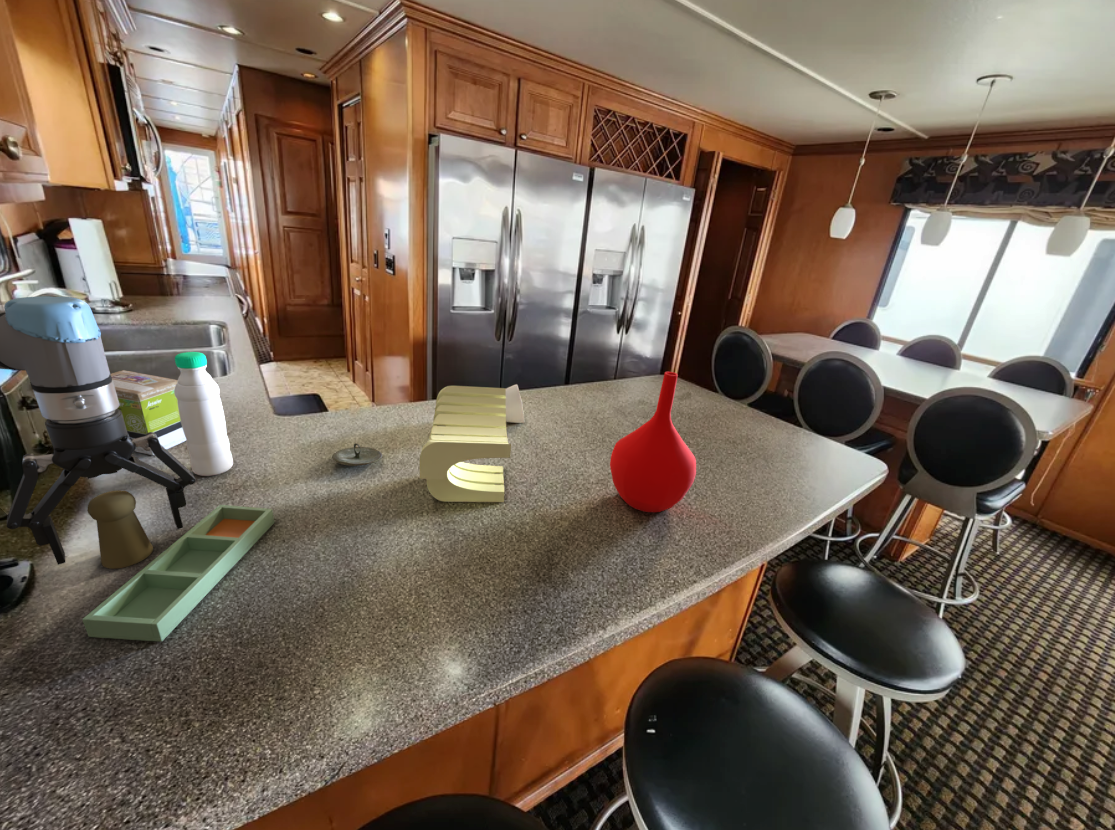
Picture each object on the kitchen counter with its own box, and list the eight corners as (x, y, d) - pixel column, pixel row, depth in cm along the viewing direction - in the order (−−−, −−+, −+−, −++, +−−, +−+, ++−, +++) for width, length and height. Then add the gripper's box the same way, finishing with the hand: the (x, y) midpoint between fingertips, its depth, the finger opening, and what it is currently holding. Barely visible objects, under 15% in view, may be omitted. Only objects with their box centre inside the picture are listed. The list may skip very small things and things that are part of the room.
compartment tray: (88, 637, 58) (81, 619, 57) (223, 518, 82) (220, 504, 81) (161, 641, 59) (156, 624, 58) (274, 522, 83) (272, 508, 81)
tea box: (93, 445, 100) (73, 381, 95) (139, 427, 109) (123, 368, 104) (153, 456, 98) (136, 392, 93) (194, 438, 108) (182, 378, 102)
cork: (156, 557, 72) (139, 497, 68) (103, 574, 68) (82, 512, 64) (149, 538, 76) (133, 480, 72) (99, 553, 71) (78, 493, 67)
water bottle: (240, 468, 98) (219, 355, 88) (202, 481, 92) (175, 361, 83) (224, 457, 101) (202, 347, 92) (186, 469, 95) (158, 352, 86)
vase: (595, 509, 97) (616, 375, 86) (615, 472, 113) (635, 355, 102) (682, 534, 92) (716, 396, 81) (690, 491, 108) (719, 371, 97)
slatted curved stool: (436, 452, 113) (437, 384, 106) (501, 454, 116) (505, 388, 109) (420, 526, 86) (419, 441, 79) (505, 526, 88) (511, 444, 82)
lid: (332, 479, 100) (331, 463, 97) (332, 449, 107) (331, 433, 104) (384, 475, 104) (384, 459, 102) (380, 447, 112) (380, 431, 109)
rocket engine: (453, 389, 128) (516, 378, 130) (458, 402, 139) (516, 392, 141) (460, 428, 125) (524, 416, 127) (464, 438, 136) (524, 427, 138)
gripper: (-69, 446, 52) (-1, 592, 60) (201, 405, 69) (225, 522, 77) (-60, 424, 56) (2, 561, 64) (190, 390, 73) (215, 502, 81)
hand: (124, 540), depth 71 cm, fingers open, 13 cm apart
